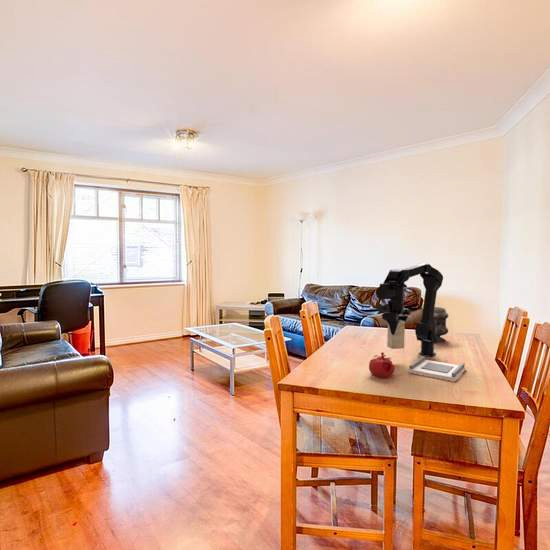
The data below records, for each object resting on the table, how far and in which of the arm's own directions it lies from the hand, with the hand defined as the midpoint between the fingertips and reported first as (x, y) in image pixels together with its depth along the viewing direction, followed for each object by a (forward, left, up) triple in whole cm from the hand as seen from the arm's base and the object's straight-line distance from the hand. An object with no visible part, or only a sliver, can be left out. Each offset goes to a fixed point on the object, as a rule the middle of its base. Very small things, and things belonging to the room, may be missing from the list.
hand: (396, 333), depth 174 cm
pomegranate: (+22, +3, -13) cm, 26 cm away
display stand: (+3, +19, -13) cm, 23 cm away
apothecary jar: (-54, +3, -13) cm, 56 cm away
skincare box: (0, 0, -7) cm, 7 cm away
